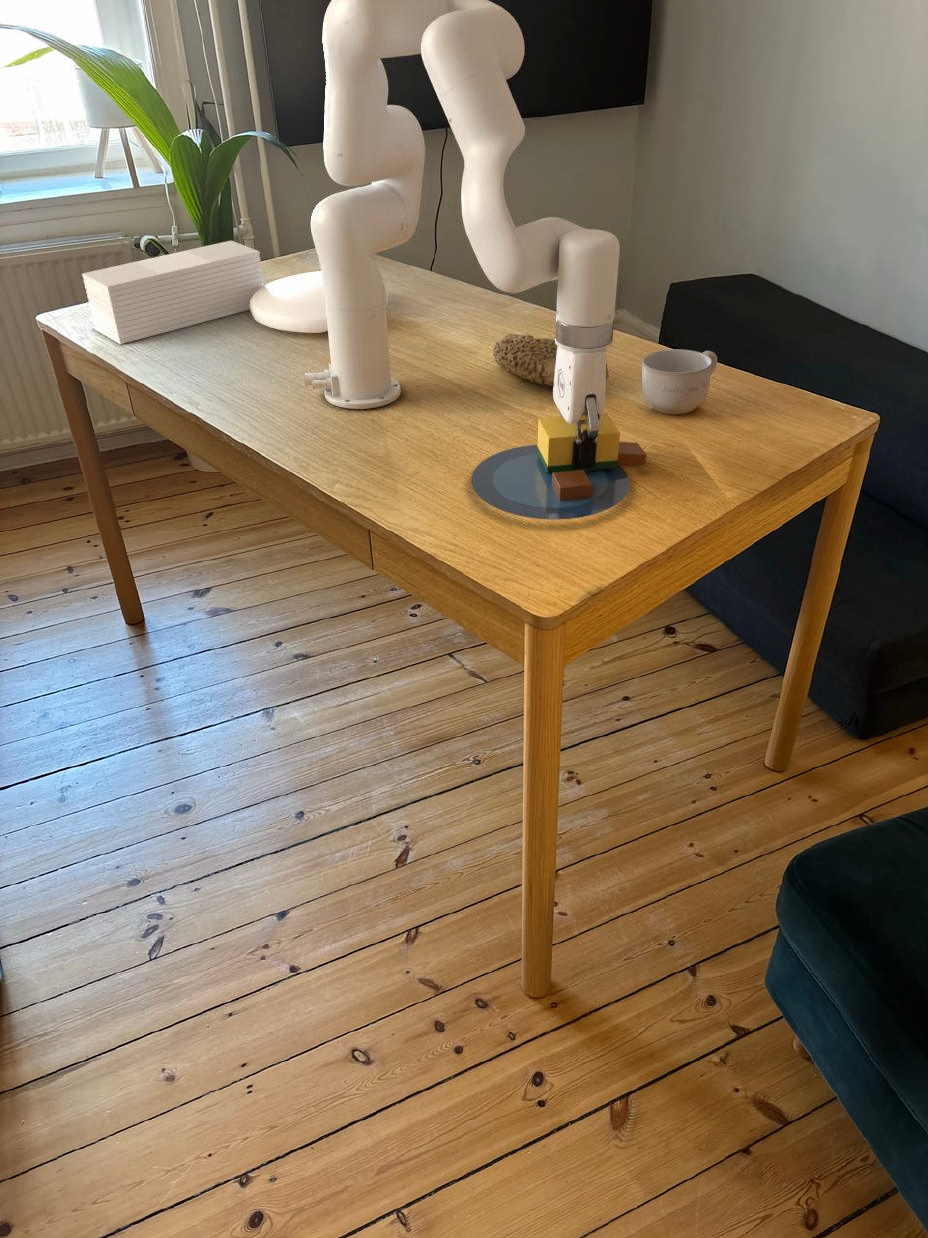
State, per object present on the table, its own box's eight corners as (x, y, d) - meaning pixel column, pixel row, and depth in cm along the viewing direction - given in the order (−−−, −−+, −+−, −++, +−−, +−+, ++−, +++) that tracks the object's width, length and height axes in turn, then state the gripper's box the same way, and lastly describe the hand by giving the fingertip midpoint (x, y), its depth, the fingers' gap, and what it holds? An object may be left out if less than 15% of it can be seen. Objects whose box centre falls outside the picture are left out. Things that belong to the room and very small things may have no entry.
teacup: (661, 425, 152) (667, 376, 148) (625, 400, 160) (629, 352, 156) (736, 410, 157) (743, 361, 152) (696, 385, 165) (703, 339, 160)
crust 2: (614, 466, 139) (617, 453, 138) (605, 453, 142) (608, 440, 141) (643, 467, 140) (646, 454, 138) (634, 455, 143) (637, 442, 142)
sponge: (485, 378, 171) (554, 393, 156) (487, 332, 169) (557, 342, 153) (546, 376, 178) (618, 390, 162) (549, 331, 175) (622, 341, 159)
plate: (319, 324, 177) (217, 298, 190) (325, 358, 181) (225, 330, 194) (414, 269, 193) (315, 248, 206) (418, 301, 198) (320, 279, 211)
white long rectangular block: (238, 293, 207) (231, 240, 201) (266, 305, 201) (259, 250, 194) (95, 329, 190) (81, 273, 184) (120, 344, 184) (107, 286, 177)
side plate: (486, 535, 127) (486, 526, 126) (459, 458, 144) (458, 450, 143) (650, 519, 129) (651, 510, 129) (604, 446, 147) (605, 438, 146)
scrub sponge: (547, 474, 136) (548, 438, 133) (536, 453, 142) (538, 418, 138) (617, 468, 138) (620, 432, 134) (604, 447, 143) (607, 412, 140)
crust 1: (559, 500, 131) (560, 487, 130) (551, 485, 135) (552, 472, 133) (591, 498, 132) (592, 484, 130) (582, 482, 135) (583, 469, 134)
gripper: (541, 311, 135) (537, 431, 146) (572, 357, 121) (565, 486, 132) (594, 307, 136) (586, 427, 146) (631, 353, 122) (619, 482, 133)
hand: (576, 454), depth 139 cm, fingers closed on scrub sponge, 6 cm apart
